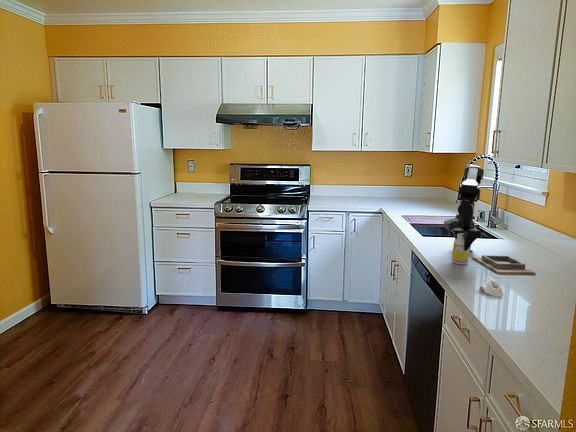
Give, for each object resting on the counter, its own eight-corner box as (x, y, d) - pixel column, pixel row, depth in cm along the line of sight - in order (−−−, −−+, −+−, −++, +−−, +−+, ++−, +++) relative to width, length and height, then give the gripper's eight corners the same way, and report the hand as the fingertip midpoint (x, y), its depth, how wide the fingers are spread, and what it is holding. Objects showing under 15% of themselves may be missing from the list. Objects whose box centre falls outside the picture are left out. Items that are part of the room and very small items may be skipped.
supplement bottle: (454, 259, 179) (457, 231, 176) (469, 262, 175) (473, 234, 172) (449, 262, 174) (452, 234, 171) (465, 266, 170) (469, 237, 167)
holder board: (472, 258, 181) (473, 252, 180) (506, 259, 182) (507, 253, 181) (497, 273, 161) (498, 266, 161) (535, 274, 162) (536, 267, 162)
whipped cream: (494, 291, 145) (495, 278, 144) (509, 297, 138) (510, 283, 138) (476, 291, 142) (477, 278, 142) (490, 297, 136) (492, 283, 136)
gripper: (438, 208, 179) (434, 242, 182) (458, 217, 160) (453, 254, 163) (462, 209, 179) (458, 242, 182) (484, 217, 161) (479, 254, 164)
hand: (461, 248), depth 173 cm, fingers closed on supplement bottle, 7 cm apart
